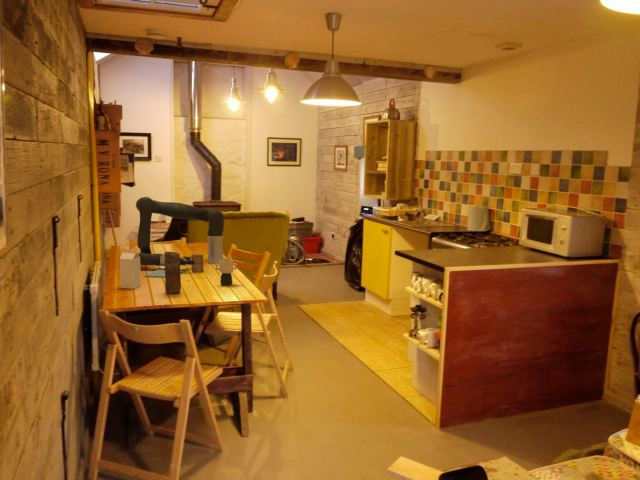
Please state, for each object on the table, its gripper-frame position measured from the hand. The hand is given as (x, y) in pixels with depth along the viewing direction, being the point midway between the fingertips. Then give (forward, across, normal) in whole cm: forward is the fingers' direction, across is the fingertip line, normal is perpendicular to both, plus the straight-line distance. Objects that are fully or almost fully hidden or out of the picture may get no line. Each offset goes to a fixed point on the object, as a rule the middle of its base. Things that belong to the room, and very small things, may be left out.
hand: (196, 261), depth 309 cm
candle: (+6, -48, +6) cm, 49 cm away
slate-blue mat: (-15, -11, +6) cm, 19 cm away
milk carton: (-19, -42, +6) cm, 46 cm away
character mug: (+26, -27, +6) cm, 38 cm away
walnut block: (0, 0, +6) cm, 6 cm away
